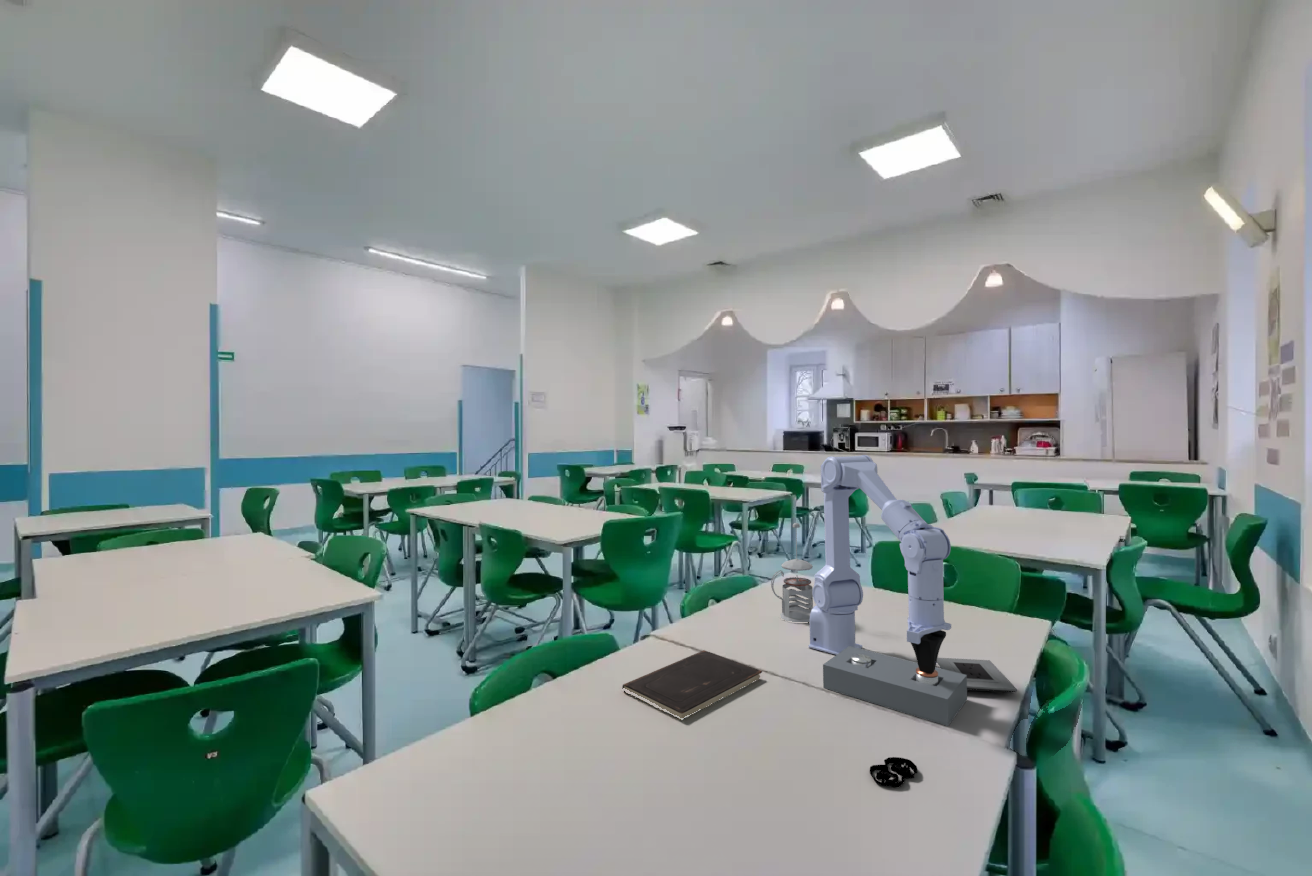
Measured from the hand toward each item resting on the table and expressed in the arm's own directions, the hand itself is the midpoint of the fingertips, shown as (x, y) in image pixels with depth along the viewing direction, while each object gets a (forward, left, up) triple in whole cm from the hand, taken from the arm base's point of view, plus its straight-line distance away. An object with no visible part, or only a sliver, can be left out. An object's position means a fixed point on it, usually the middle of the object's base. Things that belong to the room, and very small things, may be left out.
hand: (926, 671), depth 102 cm
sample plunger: (-12, 0, -5) cm, 13 cm away
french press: (-41, +27, -6) cm, 49 cm away
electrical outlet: (+4, +15, -6) cm, 17 cm away
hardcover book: (-37, -21, -7) cm, 43 cm away
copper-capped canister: (0, 0, -5) cm, 5 cm away
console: (-6, 0, -6) cm, 8 cm away
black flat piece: (+3, -25, -6) cm, 26 cm away
